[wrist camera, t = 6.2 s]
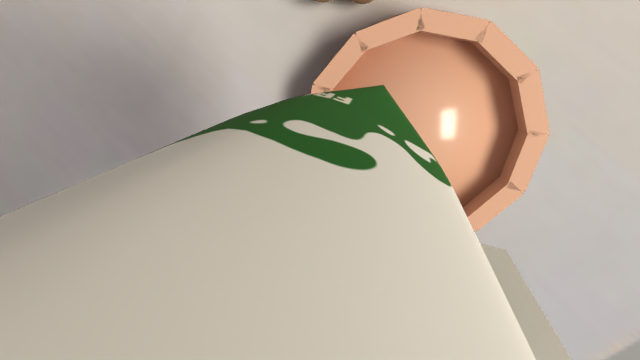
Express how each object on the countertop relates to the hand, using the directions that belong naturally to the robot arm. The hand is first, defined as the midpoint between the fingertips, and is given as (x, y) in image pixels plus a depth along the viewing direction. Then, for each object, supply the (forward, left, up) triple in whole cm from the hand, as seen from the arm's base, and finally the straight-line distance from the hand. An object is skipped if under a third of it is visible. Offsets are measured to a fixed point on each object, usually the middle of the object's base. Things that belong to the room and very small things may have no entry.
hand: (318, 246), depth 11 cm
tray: (+5, 0, -22) cm, 23 cm away
